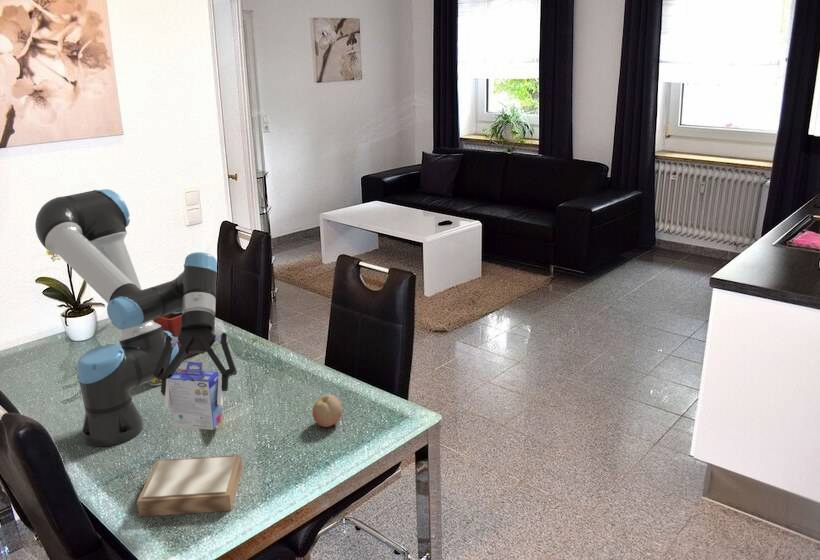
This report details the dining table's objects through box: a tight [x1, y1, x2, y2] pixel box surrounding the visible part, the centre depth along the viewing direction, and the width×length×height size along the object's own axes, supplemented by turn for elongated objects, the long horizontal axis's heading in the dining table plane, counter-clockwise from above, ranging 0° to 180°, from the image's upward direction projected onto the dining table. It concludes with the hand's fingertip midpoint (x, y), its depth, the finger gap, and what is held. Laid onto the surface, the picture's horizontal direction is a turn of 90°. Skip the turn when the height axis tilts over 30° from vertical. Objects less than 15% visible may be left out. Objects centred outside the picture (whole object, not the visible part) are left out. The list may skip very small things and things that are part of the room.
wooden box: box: [136, 454, 244, 517], centre depth 160 cm, size 20×16×4 cm
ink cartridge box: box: [168, 361, 224, 430], centre depth 155 cm, size 10×6×14 cm, turn 81°
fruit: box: [311, 394, 343, 428], centre depth 187 cm, size 8×8×8 cm
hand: (193, 407), depth 153 cm, fingers closed on ink cartridge box, 11 cm apart
